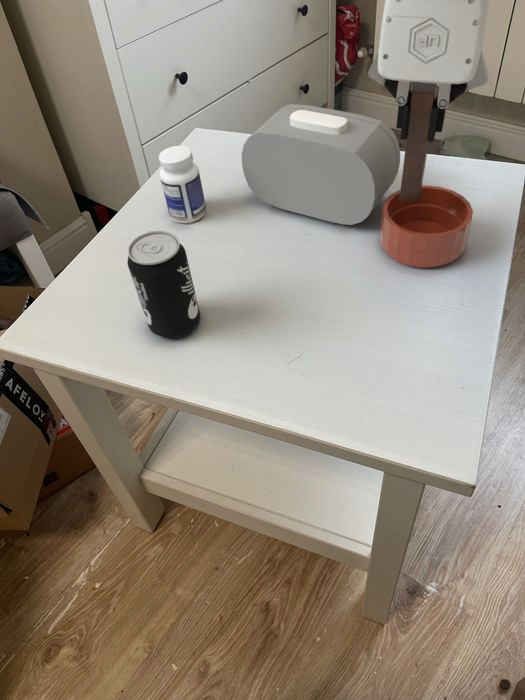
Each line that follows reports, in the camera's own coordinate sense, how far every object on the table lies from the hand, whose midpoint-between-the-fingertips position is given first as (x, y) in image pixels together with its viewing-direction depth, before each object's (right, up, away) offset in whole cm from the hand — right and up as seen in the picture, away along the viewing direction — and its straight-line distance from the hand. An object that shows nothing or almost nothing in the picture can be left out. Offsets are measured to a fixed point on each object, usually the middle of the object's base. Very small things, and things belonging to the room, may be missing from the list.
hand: (418, 134), depth 66 cm
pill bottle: (-30, -5, +20) cm, 36 cm away
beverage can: (-29, -22, +5) cm, 37 cm away
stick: (+1, -6, +6) cm, 9 cm away
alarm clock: (-10, -3, +19) cm, 22 cm away
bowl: (+3, -11, +11) cm, 16 cm away
